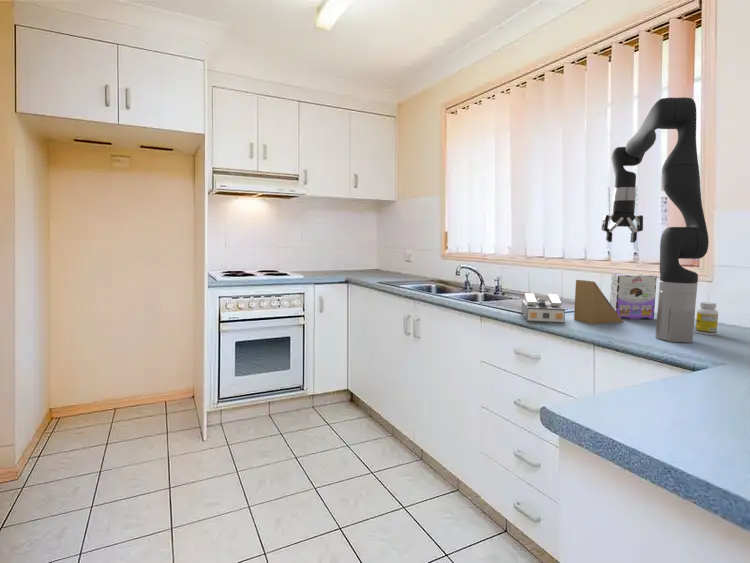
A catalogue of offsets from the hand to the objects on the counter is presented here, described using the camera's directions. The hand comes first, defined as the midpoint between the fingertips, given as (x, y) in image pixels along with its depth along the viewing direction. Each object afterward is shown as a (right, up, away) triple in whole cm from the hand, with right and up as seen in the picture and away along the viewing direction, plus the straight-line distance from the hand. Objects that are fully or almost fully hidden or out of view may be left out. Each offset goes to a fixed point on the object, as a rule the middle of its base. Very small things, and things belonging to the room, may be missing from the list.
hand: (621, 242), depth 172 cm
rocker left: (-38, -22, -7) cm, 45 cm away
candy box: (+1, -29, -5) cm, 29 cm away
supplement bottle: (+10, -32, -31) cm, 46 cm away
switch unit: (-34, -29, -8) cm, 45 cm away
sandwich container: (-14, -30, -12) cm, 35 cm away
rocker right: (-30, -23, -9) cm, 38 cm away
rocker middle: (-34, -22, -8) cm, 41 cm away
